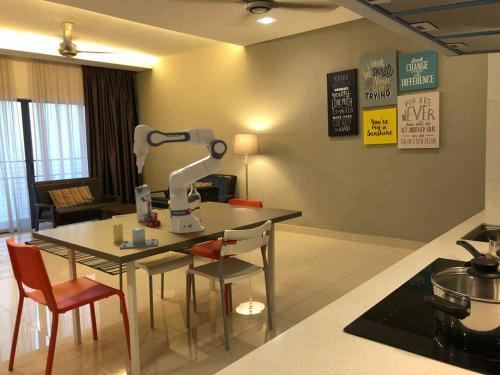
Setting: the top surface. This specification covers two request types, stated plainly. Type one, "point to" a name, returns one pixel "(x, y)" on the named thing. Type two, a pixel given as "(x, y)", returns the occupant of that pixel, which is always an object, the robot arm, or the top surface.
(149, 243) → the tower base
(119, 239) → the round brick
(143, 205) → the juice carton
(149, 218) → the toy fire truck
